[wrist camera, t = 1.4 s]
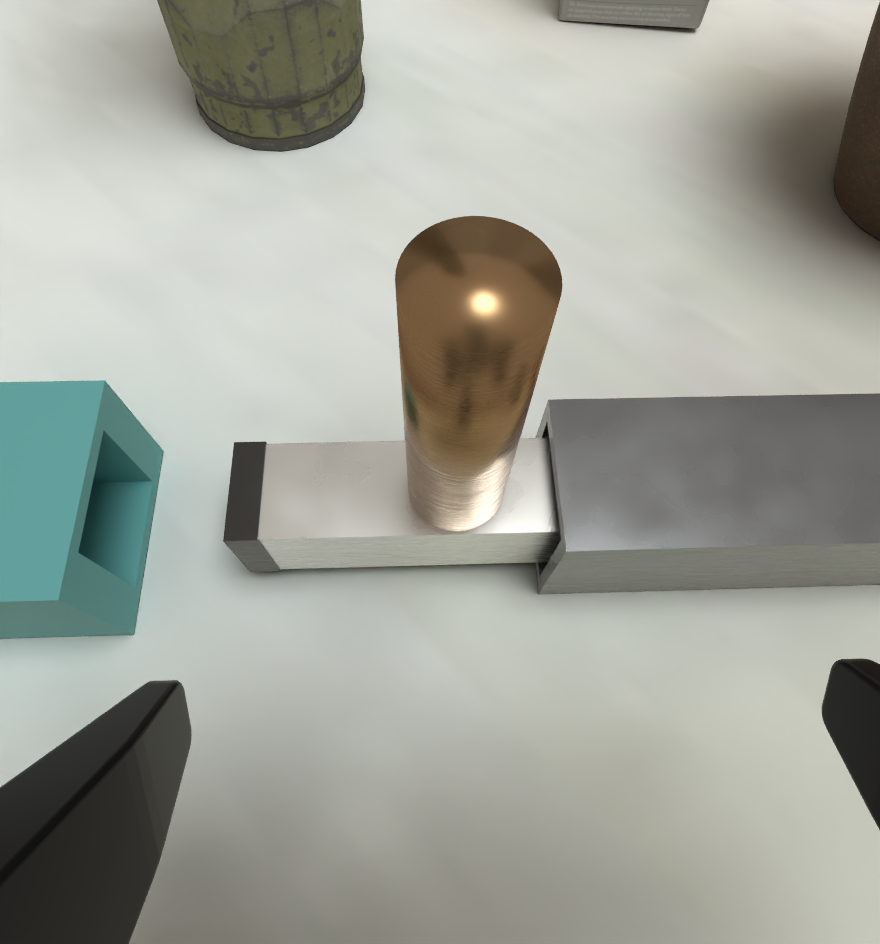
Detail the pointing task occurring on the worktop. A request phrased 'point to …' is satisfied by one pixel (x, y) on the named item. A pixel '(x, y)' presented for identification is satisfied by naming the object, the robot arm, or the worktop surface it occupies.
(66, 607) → the socket
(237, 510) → the bronze post on bar
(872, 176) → the plant pot
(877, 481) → the grey rectangular metal block
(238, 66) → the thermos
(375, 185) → the worktop surface
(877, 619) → the worktop surface
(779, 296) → the worktop surface
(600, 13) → the skincare box
